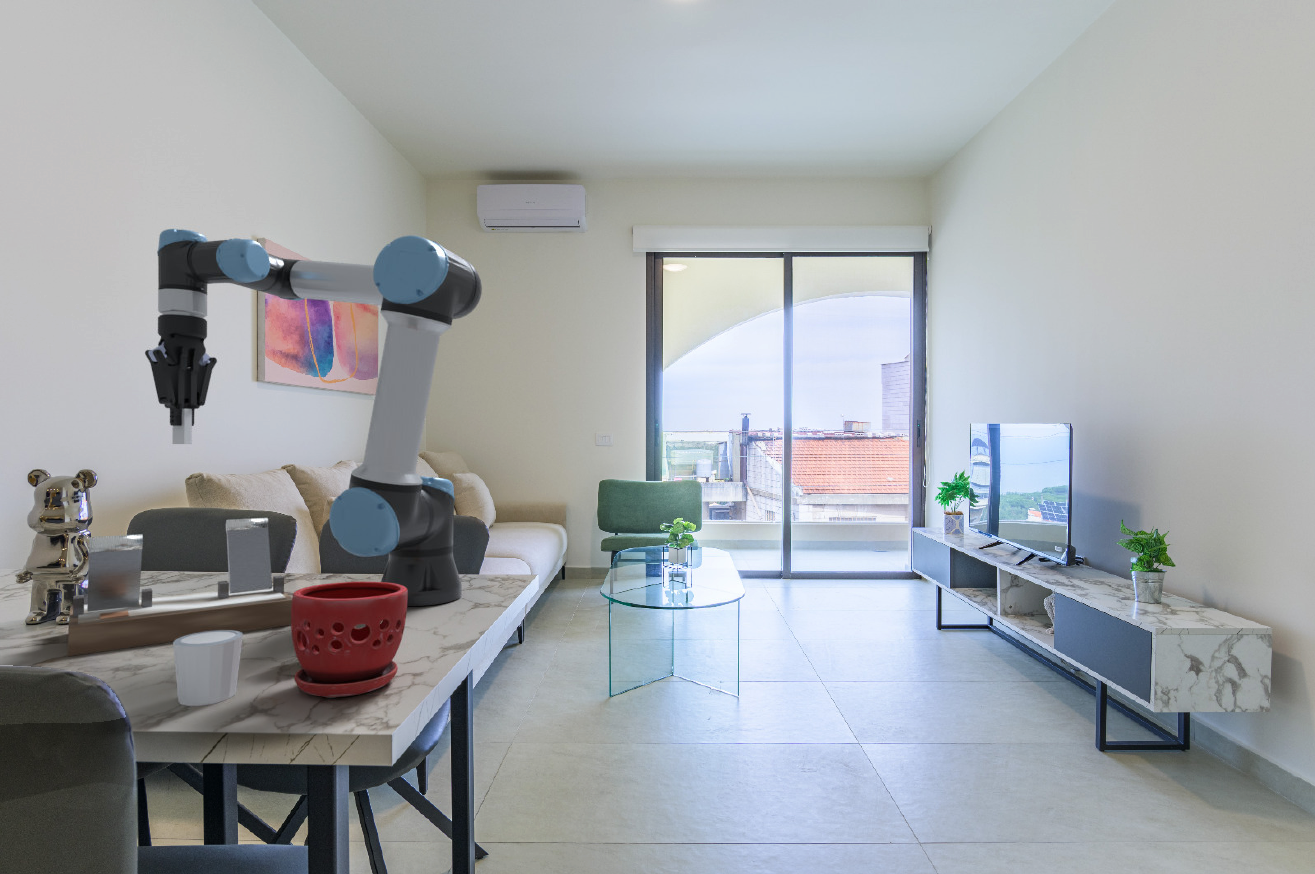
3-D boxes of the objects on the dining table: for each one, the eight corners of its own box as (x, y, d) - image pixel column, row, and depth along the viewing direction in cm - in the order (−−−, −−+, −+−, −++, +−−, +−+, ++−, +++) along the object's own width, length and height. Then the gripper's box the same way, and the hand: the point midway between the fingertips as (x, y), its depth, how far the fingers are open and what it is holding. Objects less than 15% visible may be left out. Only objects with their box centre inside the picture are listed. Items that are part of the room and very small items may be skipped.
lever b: (87, 604, 102) (89, 534, 98) (138, 598, 106) (142, 531, 101) (87, 613, 101) (89, 543, 96) (138, 608, 104) (143, 539, 100)
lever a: (229, 594, 114) (225, 522, 118) (270, 589, 118) (265, 520, 122) (231, 590, 112) (227, 517, 117) (272, 586, 116) (267, 515, 120)
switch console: (69, 633, 106) (70, 589, 106) (275, 607, 123) (276, 569, 123) (67, 656, 95) (68, 607, 95) (294, 624, 113) (294, 583, 113)
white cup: (171, 693, 82) (173, 634, 82) (239, 682, 86) (240, 626, 86) (171, 712, 76) (173, 648, 76) (244, 700, 80) (245, 639, 80)
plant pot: (399, 699, 81) (401, 597, 81) (275, 708, 78) (277, 601, 78) (410, 664, 94) (412, 575, 94) (304, 670, 91) (306, 579, 91)
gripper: (197, 323, 135) (196, 444, 135) (132, 310, 123) (131, 444, 122) (229, 321, 134) (228, 444, 133) (166, 308, 121) (165, 444, 121)
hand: (182, 443), depth 128 cm, fingers closed
